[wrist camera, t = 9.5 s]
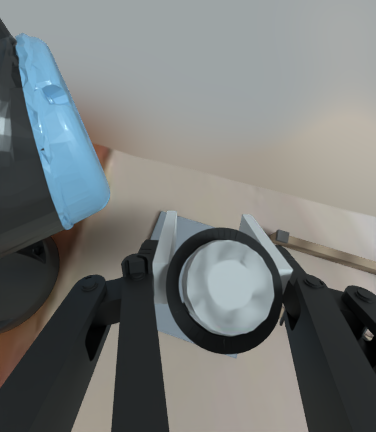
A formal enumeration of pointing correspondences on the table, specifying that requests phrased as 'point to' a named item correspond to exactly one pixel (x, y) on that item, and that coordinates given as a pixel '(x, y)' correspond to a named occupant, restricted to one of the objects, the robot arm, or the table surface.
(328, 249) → the rails
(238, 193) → the table surface
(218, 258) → the push button
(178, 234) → the slate mat
